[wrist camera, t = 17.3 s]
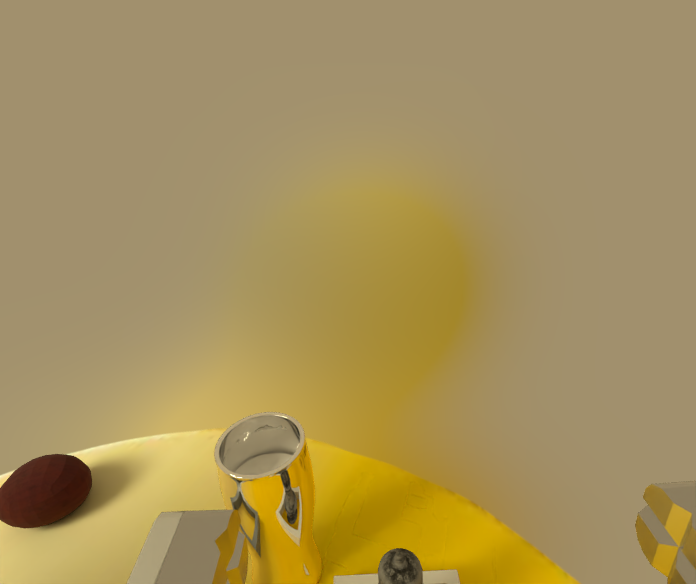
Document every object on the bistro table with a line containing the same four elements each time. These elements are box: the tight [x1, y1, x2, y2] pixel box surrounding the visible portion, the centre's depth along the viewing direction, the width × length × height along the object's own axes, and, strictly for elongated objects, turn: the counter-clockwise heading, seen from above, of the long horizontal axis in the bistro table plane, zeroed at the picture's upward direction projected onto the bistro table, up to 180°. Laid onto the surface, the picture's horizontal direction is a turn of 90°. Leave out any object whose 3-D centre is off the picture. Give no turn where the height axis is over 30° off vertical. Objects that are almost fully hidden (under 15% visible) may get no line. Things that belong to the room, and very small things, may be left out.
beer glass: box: [214, 412, 322, 584], centre depth 35 cm, size 7×7×15 cm
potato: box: [0, 454, 92, 528], centre depth 45 cm, size 7×8×6 cm
